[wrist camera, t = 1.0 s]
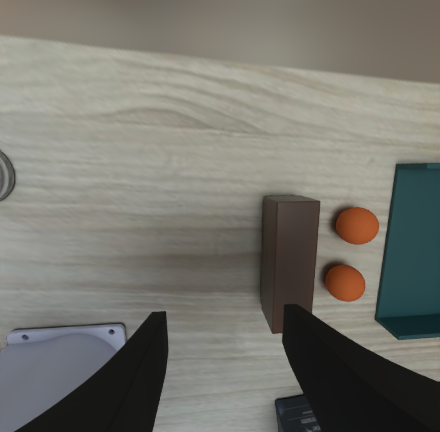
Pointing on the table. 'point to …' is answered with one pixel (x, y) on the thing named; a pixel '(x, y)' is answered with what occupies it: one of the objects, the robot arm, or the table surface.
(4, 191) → the chess piece
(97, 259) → the table surface
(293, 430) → the box
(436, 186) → the dustpan
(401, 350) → the table surface
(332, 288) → the ball
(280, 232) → the brush
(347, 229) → the ball
